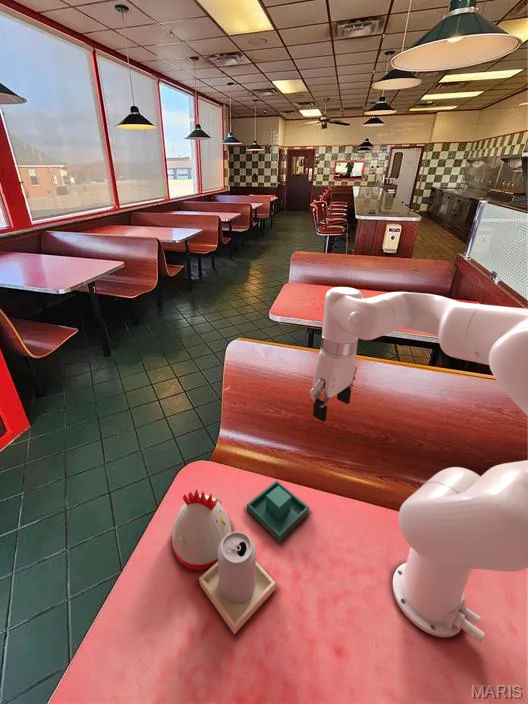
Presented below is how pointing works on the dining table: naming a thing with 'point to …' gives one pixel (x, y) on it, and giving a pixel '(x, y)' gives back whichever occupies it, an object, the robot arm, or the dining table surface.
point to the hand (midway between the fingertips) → (331, 409)
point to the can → (237, 567)
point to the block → (278, 502)
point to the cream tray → (236, 612)
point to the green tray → (271, 522)
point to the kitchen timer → (199, 531)
